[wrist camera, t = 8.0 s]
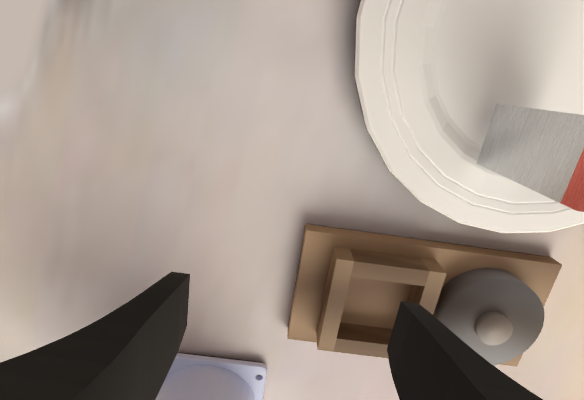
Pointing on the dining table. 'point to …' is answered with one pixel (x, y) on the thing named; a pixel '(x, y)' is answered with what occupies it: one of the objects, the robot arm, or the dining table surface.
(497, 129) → the pin
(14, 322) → the dining table surface
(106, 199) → the dining table surface
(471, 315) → the board
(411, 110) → the plate
